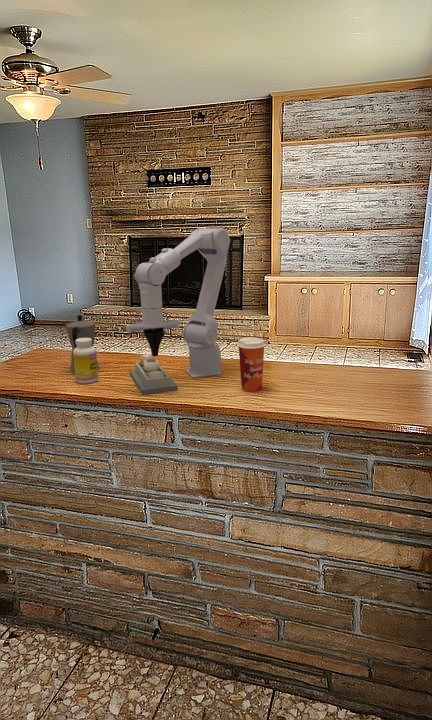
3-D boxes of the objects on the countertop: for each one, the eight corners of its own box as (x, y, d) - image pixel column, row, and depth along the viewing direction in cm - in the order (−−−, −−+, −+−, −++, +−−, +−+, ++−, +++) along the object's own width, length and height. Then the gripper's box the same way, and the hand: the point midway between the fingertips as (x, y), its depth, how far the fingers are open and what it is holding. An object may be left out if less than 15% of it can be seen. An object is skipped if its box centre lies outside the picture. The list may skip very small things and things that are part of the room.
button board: (161, 370, 163) (160, 358, 162) (177, 390, 145) (176, 377, 144) (129, 374, 160) (129, 362, 159) (142, 395, 142) (141, 381, 140)
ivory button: (157, 367, 154) (156, 357, 153) (160, 371, 150) (160, 361, 149) (142, 369, 153) (142, 359, 152) (145, 373, 149) (145, 363, 148)
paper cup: (247, 394, 140) (246, 345, 136) (233, 386, 146) (232, 339, 142) (271, 389, 143) (271, 341, 139) (256, 382, 150) (256, 335, 146)
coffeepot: (75, 364, 173) (69, 311, 168) (103, 363, 173) (98, 310, 168) (63, 378, 158) (56, 321, 153) (93, 377, 158) (88, 320, 153)
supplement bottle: (93, 384, 152) (88, 342, 148) (72, 383, 153) (67, 342, 149) (102, 377, 158) (98, 337, 154) (82, 376, 159) (78, 336, 156)
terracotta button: (153, 362, 159) (152, 352, 158) (156, 366, 155) (155, 356, 154) (139, 364, 158) (138, 354, 157) (141, 368, 154) (141, 357, 153)
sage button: (162, 380, 149) (161, 369, 148) (165, 384, 145) (165, 373, 144) (147, 381, 148) (146, 371, 147) (150, 386, 144) (149, 375, 143)
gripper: (174, 302, 146) (176, 349, 150) (123, 307, 142) (126, 354, 145) (180, 306, 140) (182, 354, 143) (127, 311, 135) (131, 360, 139)
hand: (154, 355), depth 144 cm, fingers closed
